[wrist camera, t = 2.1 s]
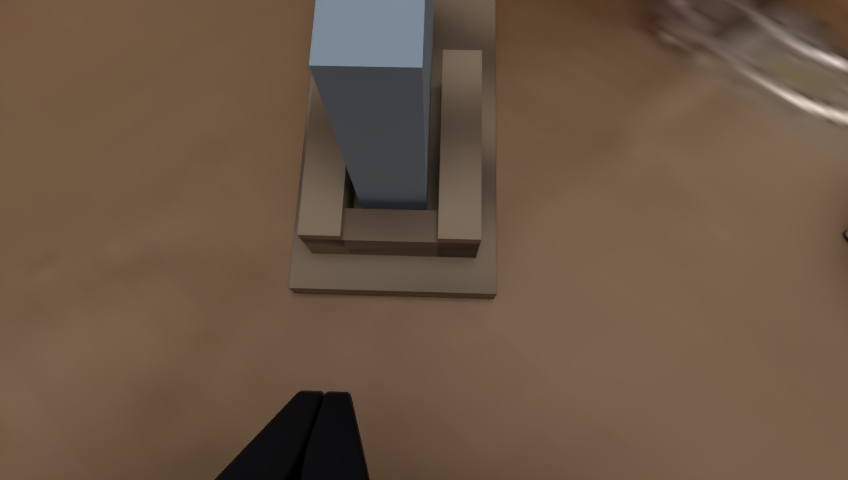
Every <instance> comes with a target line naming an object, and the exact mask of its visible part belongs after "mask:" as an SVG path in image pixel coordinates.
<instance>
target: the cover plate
mask: <svg viewBox="0 0 848 480" xmlns="http://www.w3.org/2000/svg"><path fill="white" fill-rule="evenodd" d="M433 19H434V0H316V4H315V13H314V23H313V32H312V41H311V51H310V60H309V67H310V70H311V72H312V75H313V78H314V80H315V83H316V86H317V89H318V91H319V94H320V97H321V99H322V102H323V105H324V108H325V110H326V113H327V116H328V118H329V121H330V124H331V127H332V129H333V132H334V135H335V137H336V140H337V143H338V145H339V148H340V151H341V154H342V156H343V159H344V162H345V164H346V167H347V170H348V173H349V175H350V178H351V181H352V183H353V186H354V189H355V192H356V194H357V197H358V200H359V202H360V205H361V208H362V209H394V210H427V202H428V171H429V141H430V110H431V80H432V49H433Z"/></svg>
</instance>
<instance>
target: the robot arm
mask: <svg viewBox="0 0 848 480" xmlns="http://www.w3.org/2000/svg"><path fill="white" fill-rule="evenodd" d="M215 480H370V478H369V473H368V469H367V465H366V460H365V456H364V451H363V447H362V442H361V438H360V433H359V429H358V424H357V420H356V415H355V411H354V407H353V402H352V398H351V395H350V393H348V392H331V391H330V392H327V393H326V394H324V393H323V392H322V391H300V392H298V393H297V394H296V395H295V396H294V397H293V398H292V399H291V400H290V401H289V402H288V403H287V404H286V405H285V406H284V407H283V408H282V410H281V411H280V412H279V413H278V414H277V415H276V416H275V417H274V418H273V419H272V420H271V421H270V422H269V423H268V424H267V425H266V426H265V427H264V428H263V429H262V430H261V432H260V433H259V434H258V435H257V436H256V437H255V438H254V439H253V440H252V441H251V442H250V443H249V444H248V445H247V446H246V447H245V448H244V449H243V450H242V451H241V452H240V454H239V455H238V456H237V457H236V458H235V459H234V460H233V461H232V462H231V463H230V464H229V465H228V466H227V467H226V468H225V469H224V470H223V471H222V472H221V473H220V474H219V475H218V477H217V478H216V479H215Z"/></svg>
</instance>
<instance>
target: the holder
mask: <svg viewBox="0 0 848 480" xmlns="http://www.w3.org/2000/svg"><path fill="white" fill-rule="evenodd" d="M289 289H291V290H292V291H293V292H294V293H317V294H351V295H385V296H419V297H453V298H488V299H494V298H495V296H496V294H497V268H496V73H495V0H434V19H433V49H432V80H431V110H430V141H429V171H428V202H427V210H394V209H362V208H361V205H360V202H359V200H358V197H357V194H356V192H355V189H354V186H353V183H352V181H351V178H350V175H349V173H348V170H347V167H346V164H345V162H344V159H343V156H342V154H341V151H340V148H339V145H338V143H337V140H336V137H335V135H334V132H333V129H332V127H331V124H330V121H329V118H328V116H327V113H326V110H325V108H324V105H323V102H322V99H321V97H320V94H319V91H318V89H317V86H316V83H315V80H314V78H313V75H312V72H311V78H310V87H309V97H308V106H307V116H306V125H305V135H304V145H303V154H302V164H301V173H300V183H299V192H298V202H297V212H296V221H295V231H294V240H293V250H292V259H291V269H290V278H289Z"/></svg>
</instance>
